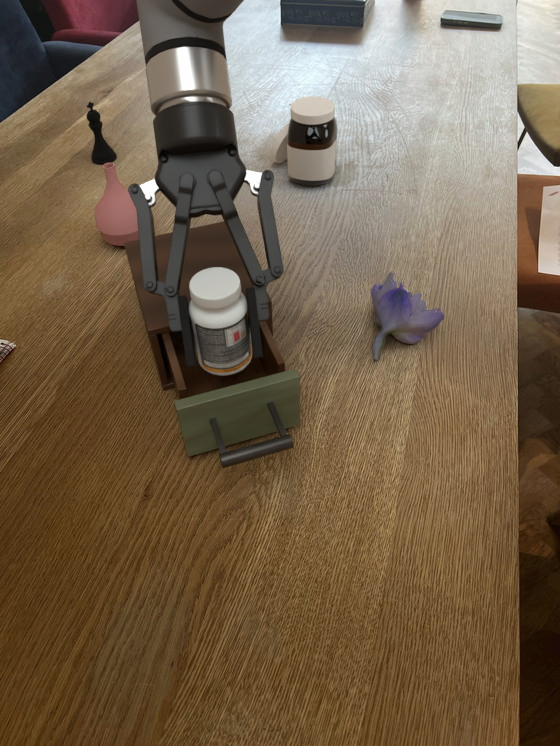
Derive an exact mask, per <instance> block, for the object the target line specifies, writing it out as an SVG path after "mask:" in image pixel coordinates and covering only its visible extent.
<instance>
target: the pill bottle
mask: <svg viewBox="0 0 560 746" xmlns="http://www.w3.org/2000/svg"><path fill="white" fill-rule="evenodd" d="M189 289H190V296H191V301H190V304H189V318H190V322H191V327H192V333H193V338H194V344H195V349H196V354H197V358H198V362H199V364H200V366H201V367H202V368H203V369H204V370H205V371H207V372H209V373H211V374H214V375H220V376H226V375H232V374H235V373H238V372H240V371H241V370H243V369H244V368H245V367H246V366H247V365H248V364H249V363H250V361H251V358H252V340H251V332H250V324H249V313H248V303H247V300H246V297H245V296H244V294H243V293H242V292H241V284H240V279H239V277H238V275H237V274H236V273H235V272H234V271H232V270H230V269H227V268H222V267H213V268H207V269H204V270H202V271H200V272H198V273H196V274H195V275H194V276H193V277H192V279H191V280H190V283H189Z"/></svg>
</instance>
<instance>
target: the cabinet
mask: <svg viewBox="0 0 560 746" xmlns="http://www.w3.org/2000/svg"><path fill="white" fill-rule="evenodd" d="M172 234H173V231H171V232H166V233H162V234H157V235H155V243H156V255H157V267H158V278H159V281H162V282H165V279H166V272H167V266H168V260H169V253H170V247H171V241H172ZM124 251H125V254H126V258H127V262H128V266H129V269H130V273H131V276H132V277H131V278H132V280H133V281H132V282H133V285H134V288H135V293H136V297H137V300H138V304H139V307H140V311H141V314H142V319H143V321H144V325H145V329H146V333H147V336H148V340H149V344H150V348H151V351H152V355H153V358H154V362H155V365H156V369H157V373H158V376H159V380H160V383H161V387H162V391H168V390H172V389H175V387H174V383H173V380H172V377H171V373H170V370H169V366H168V363H167V360H166V356H165V353H164V348H163V344H162V340H161V336H160V333H164V332H168V331H171V329H170V327H169V322H168V315H167V307H166V301H165V298H164V297H163V296H161V295H156V294H151V293H149V292H148V291H146V290H145V289H144V287H143V278H142V267H141V255H140V244H139V239H138V240H133V241H129V242H124ZM213 267H222V268H227V269H230V270H232V271H234V272H235V273H236V274H237V275H238V277H239V279H240V284H241V292H242V293H243V294H244V296H245V297H246V292H245V290H246V288H252V283H251V281H250V278H249V276H248V274H247V272H246V269H245V267H244V265H243V262H242V260H241V258H240V256H239V253H238V251H237V249H236V246H235V244H234V242H233V240H232V237H231V235H230V233H229V230H228V228H227V226H226V224H225V222H224V220H222V221H218V222H213V223H209V224H203V225H199V226H195V227H190V228H189V233H188V239H187V246H186V252H185V258H184V265H183V271H182V277H181V284H180V290H179V296H184V295H186V297H187V299H188V306H189V304H190V301H191V296H190V289H189V283H190V280H191V279H192V277H193V276H194V275H195V274H196V273H198V272H200V271H202V270H204V269H207V268H213ZM267 297H268V305H269V313H270V315H269V319H268V320H267V321H266V323H267V326H268V328H269V330H270V332H271V334H272V336H273V337H274V322H273V301H272V298H271V297H270V294H269V292H267Z"/></svg>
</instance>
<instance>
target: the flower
mask: <svg viewBox="0 0 560 746" xmlns="http://www.w3.org/2000/svg"><path fill="white" fill-rule="evenodd" d="M394 278H395V272H394V273H392V271H390V272H389V273H388V274H387V276H386V278H385V279H384V283H383V284H381V283H378V282H377V281H376V282H375V284H374V285H373V286H372V287H371V289H370V295H371V302H372V306H373V309H374V310H373V311H374V312H373V313H374V314H373V315H374V316H373V322H374V324H376V325H377V326H379V328H380V331H379V333H378V334H377V335H375V337H374V339H373V341H372V348H371V350H372V356H373V361H374V362H379V361H380V358H381V352H382V350H383V348H384V347H385V344H386V343H385V342H386V339H387V336H388V335H389V334H390V335H392V336H393V337H394V338H395V339H396V340H398V342H401V343H403V344H408V345H413V344H416V343H418V342H420V341H422V340H423V338H424V337H425V335H427V334H428V333H430V332H432V331H434V330H435V329H436V328H437V327H438V326H439V325H440V324H441V322H443V320H444V319H445V314H444V312H443V311H442V309H441V308H438V307H437V306H436V307H435V308H432V309H428V307H427V303H426V300H425V299H422V296H423V294H422V293H421V292H419V293H414V294H412V291H408V290H406V289H405V288H404V284H403V282H402V281H401V280H400V282H399V285H398V281H397V280H394Z"/></svg>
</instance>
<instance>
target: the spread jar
mask: <svg viewBox="0 0 560 746" xmlns="http://www.w3.org/2000/svg"><path fill="white" fill-rule="evenodd" d="M335 110H336V105H335V103H334V101H332V100H331V99H329V98H326V97H323V96H315V95H314V96H304V97H300V98H298V99H295V100H294V101H293V102H291V104H290V119H289V123H287V124H286V125H284V126H283V127H282V128H281V129H280V131H279V132H278V133H277V134H276V136H275V137H274V139H273V141H272V143H271V145H270V149H269V158H270V159H271V161H273V162H274V163H276V164H281V163H284V162H285V161H287V163H286V164H287V174H288V177H289V179H290V180H291V181H293V182H295V183H297V184H299V185H301V186H306V187H318V186H322V185H326V184H327V183H329V182H331V181H332V179H333V178H334V176H335V173H336V165H337V164H336V163H337V146H338V145H337V142H338V123H337V119H336V116H335V115H336V114H335V113H336V111H335Z"/></svg>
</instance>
